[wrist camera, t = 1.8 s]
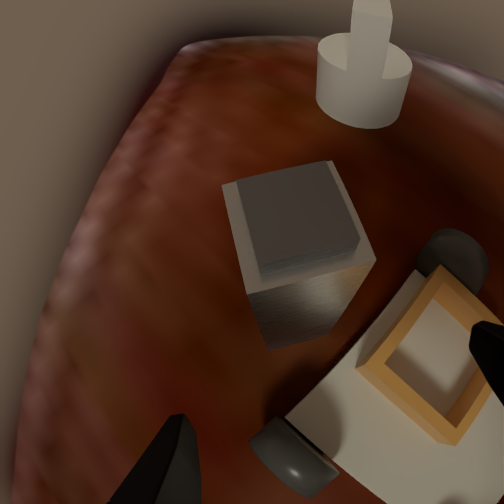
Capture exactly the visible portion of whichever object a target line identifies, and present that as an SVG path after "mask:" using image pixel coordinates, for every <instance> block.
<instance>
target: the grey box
mask: <svg viewBox="0 0 504 504" xmlns="http://www.w3.org/2000/svg"><path fill="white" fill-rule="evenodd" d="M222 189H223V194H224V198H225V202H226V207H227V211H228V216H229V220H230V224H231V229H232V233H233V237H234V242H235V246H236V250H237V255H238V259H239V263H240V267H241V272H242V276H243V280H244V284H245V289H246V293H247V296H248V299H249V302H250V304H251V307H252V310H253V313H254V315H255V318H256V321H257V323H258V326H259V329H260V332H261V334H262V337H263V340H264V342H265V345H266V348H267V350H268V351H270V350H274V349H277V348H281V347H285V346H289V345H293V344H297V343H300V342H304V341H307V340H311V339H315V338H318V337H322V336H325V335H328V334H329V332H330V331H331V329H332V328H333V326H334V325H335V324H336V322H337V321H338V319H339V318H340V316H341V315H342V313H343V312H344V310H345V309H346V307H347V306H348V304H349V303H350V301H351V300H352V298H353V297H354V295H355V293H356V292H357V290H358V289H359V287H360V286H361V284H362V283H363V281H364V279H365V278H366V276H367V275H368V273H369V271H370V270H371V268H372V266H373V265H374V263H375V262H376V257H375V255H374V252H373V250H372V247H371V245H370V243H369V240H368V238H367V235H366V233H365V231H364V228H363V226H362V224H361V222H360V219H359V217H358V215H357V212H356V210H355V208H354V206H353V204H352V201H351V199H350V197H349V195H348V193H347V191H346V188H345V186H344V184H343V182H342V180H341V178H340V176H339V174H338V172H337V170H336V168H335V166H334V164H333V162H332V161H327V162H326V160H325V161H320V162H315V163H310V164H305V165H300V166H296V167H291V168H286V169H282V170H277V171H273V172H268V173H264V174H260V175H255V176H251V177H247V178H243V179H239V180H236V182H232V183H228V184H224V185H222Z"/></svg>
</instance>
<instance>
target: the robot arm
mask: <svg viewBox="0 0 504 504" xmlns="http://www.w3.org/2000/svg"><path fill="white" fill-rule="evenodd" d="M469 350H470V353H471V354H472V356H473V358H474V359H475V361H476V363H477V365H478V366H479V368H480V370H481V372H482V373H483V375H484V377H485V379H486V381H487V382H488V384H489V386H490V387H491V389H492V390H493V392H494V393H495V395H496V396H497V397H498V399H499V400H500V402H501V403H502V405H503V406H504V326H503V325H499V324H495V323H492V322H488V321H484V320H482V321H480V322H478V323H476V324H474V325H473V326H472V328H471V334H470V340H469ZM106 504H201V473H200V464H199V456H198V446H197V437H196V433H195V430H194V428H193V427H192V425H191V423H190V422H189V420H188V418H187V416H186V415H185V414H175V415H171V416H170V417H169V418H168V419H167V421H166V422H165V424H164V425H163V426H162V428H161V429H160V431H159V432H158V433H157V435H156V436H155V438H154V439H153V440H152V442H151V443H150V445H149V446H148V447H147V449H146V450H145V452H144V453H143V454H142V456H141V457H140V459H139V460H138V461H137V463H136V464H135V465H134V467H133V468H132V470H131V471H130V472H129V474H128V475H127V476H126V478H125V479H124V481H123V482H122V483H121V485H120V486H119V487H118V489H117V490H116V491H115V493H114V494H113V496H112V497H111V498H110V501H108V502H107V503H106Z"/></svg>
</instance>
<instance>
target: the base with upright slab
mask: <svg viewBox="0 0 504 504" xmlns="http://www.w3.org/2000/svg"><path fill="white" fill-rule="evenodd" d="M392 20H393V16H392V10H391V4H390V0H354V2H353V8H352V20H351V32H350V33H339V34H333V35H330V36H327V37H325V38H324V39H322V40H321V41H320V43H319V44H318V62H317V86H316V100H317V103H318V105H319V106H320V108H321V109H322V110H323V111H324V112H325V113H326V114H328V115H329V116H330V117H332V118H333V119H335V120H337V121H339V122H341V123H343V124H347V125H350V126H353V127H358V128H365V129H376V128H382V127H386V126H389V125H390V124H392V123H394V122H395V121H396V119H397V118H398V117H399V114H400V110H401V107H402V104H403V100H404V97H405V93H406V90H407V86H408V82H409V79H410V75H411V71H412V62H411V60H410V58H409V57H408V56H407V55H406V53H405V52H403V51H402V50H401V49H400V48H398V47H397V46H395V45H393V44H391V43H390V42H389V38H390V32H391V26H392Z"/></svg>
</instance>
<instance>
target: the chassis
mask: <svg viewBox="0 0 504 504" xmlns="http://www.w3.org/2000/svg"><path fill="white" fill-rule="evenodd" d="M416 265H417V269H418V271H417V270H416V269H415V270H414V271H413V272H412V274H411V275H410V276H409V277H408V279H407V280H406V281H405V283H404V284H403V285H402V287H401V288H400V289H399V291H398V292H397V293H396V295H395V296H394V297H393V298H392V300H391V301H390V302H389V303H388V305H387V306H386V307H385V308H384V310H383V311H382V312H381V313H380V315H379V316H378V317H377V318H376V320H375V321H374V322H373V323H372V324H371V326H370V327H369V328H368V329H367V330H366V331H365V333H364V334H363V335H362V336H361V337H360V338H359V340H358V341H357V342H356V343H355V344H354V345H353V347H352V348H351V349H350V350H349V351H348V352H347V353H346V354H345V355H344V357H343V358H342V359H341V360H340V361H339V362H338V363H337V364H336V365H335V366H334V367H333V369H332V370H331V371H330V372H329V373H328V374H327V375H326V376H325V377H324V378H323V379H322V380H321V381H320V382H319V383H318V384H317V385H316V386H315V387H314V388H313V389H312V390H311V391H310V392H309V393H308V394H307V395H306V396H305V397H304V398H303V399H302V400H301V401H300V402H299V403H298V404H297V405H296V406H295V407H294V408H293V409H292V410H291V411H290V412H289V413H288V414H287V415H286V416H285V418H286V419H287V420H288V421H289V422H290V423H291V424H292V425H293V426H294V427H296V428H297V429H298V430H299V431H300V432H301V433H302V434H303V435H304V436H306V437H307V438H308V439H309V440H310V441H311V442H312V443H313V444H315V445H316V446H317V447H318V448H319V449H320V450H321V451H323V452H324V453H325V454H326V455H327V456H328V457H330V458H331V459H332V460H333V461H334V462H336V463H337V464H338V465H339V466H340V467H342V468H343V469H344V470H345V471H346V472H348V473H349V474H350V475H351V476H353V477H354V478H355V479H356V480H357V481H359V482H360V483H361V484H363V485H364V486H365V487H366V488H368V489H369V490H370V491H371V492H373V493H374V494H375V495H377V496H378V497H379V498H381V499H382V500H383V501H385V502H386V503H387V504H497V503H498V501H499V500H500V499H501V497H502V496H503V495H504V406H503V405H502V403H501V402H500V400H499V399H498V397H497V396H496V395H495V393H494V392H493V390H492V389H491V387H490V386H489V384H488V382H487V381H486V379H485V377H484V375H483V373H482V372H481V370H480V368H479V366H478V365H477V363H476V361H475V359H474V358H473V356H472V354H471V353H470V350H469V340H470V334H471V328H472V326H473V325H474V324H476V323H478V322H480V321H482V320H484V321H488V322H492V323H495V324H499V325H503V324H502V323H501V321H500V320H499V319H498V318H497V317H496V316H495V315H494V314H493V313H492V312H491V311H490V310H489V309H488V308H487V307H486V306H485V305H484V304H483V303H482V302H481V301H480V300H479V299H478V298H477V297H476V296H477V294H478V292H479V290H480V288H481V286H482V285H483V283H484V281H485V279H486V277H487V275H488V272H489V261H488V258H487V255H486V253H485V251H484V250H483V248H482V247H481V246H480V245H479V243H478V242H477V241H476V240H474V239H473V238H472V237H471V236H469V235H468V234H466V233H464V232H462V231H459V230H456V229H452V228H443V229H439V230H437V231H436V232H434V233H433V234H432V236H431V237H430V239H429V240H428V242H427V243H426V245H425V246H424V247H423V249H422V250H421V252H420V253H419V255H418V256H417V260H416ZM503 326H504V325H503ZM249 443H250V445H251V447H252V449H253V450H254V452H255V453H256V454H257V456H258V457H259V458H260V459H261V461H262V462H263V463H264V464H265V465H266V466H267V467H268V468H269V469H270V470H271V471H272V472H273V473H274V474H275V475H276V476H277V477H278V478H279V479H280V480H281V481H283V482H284V483H285V484H286V485H288V486H289V487H290V488H292V489H293V490H294V491H296V492H297V493H299V494H301V495H303V496H305V497H307V498H312V497H314V496H315V495H316V494H317V493H318V492H319V491H321V490H322V489H323V488H324V487H325V486H326V485H327V484H329V483H330V482H331V481H332V480H333V479H334V478H335V477H336V476H337V475H338V474H339V471H338V470H337V469H336V468H335V467H334V466H333V465H332V464H331V463H330V462H329V461H328V460H327V459H326V458H325V457H324V456H323V455H322V454H321V453H320V452H319V451H317V450H316V449H315V448H314V447H313V446H312V445H311V444H310V443H309V442H308V441H306V440H305V439H304V438H303V437H302V436H301V435H300V434H299V433H297V432H296V431H295V430H294V429H293V428H292V427H290V426H289V425H288V424H287V423H286V422H284V421H283V420H282V419H281V418H279V417H278V416H275V417H274V418H273V419H272V420H271V421H270V422H269V423H268V424H267V425H265V426H264V427H263V428H262V429H261V430H260V431H259V432H258V433H256V434H255V435H254V436H253V437H252V438H251V439H250V440H249Z"/></svg>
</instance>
